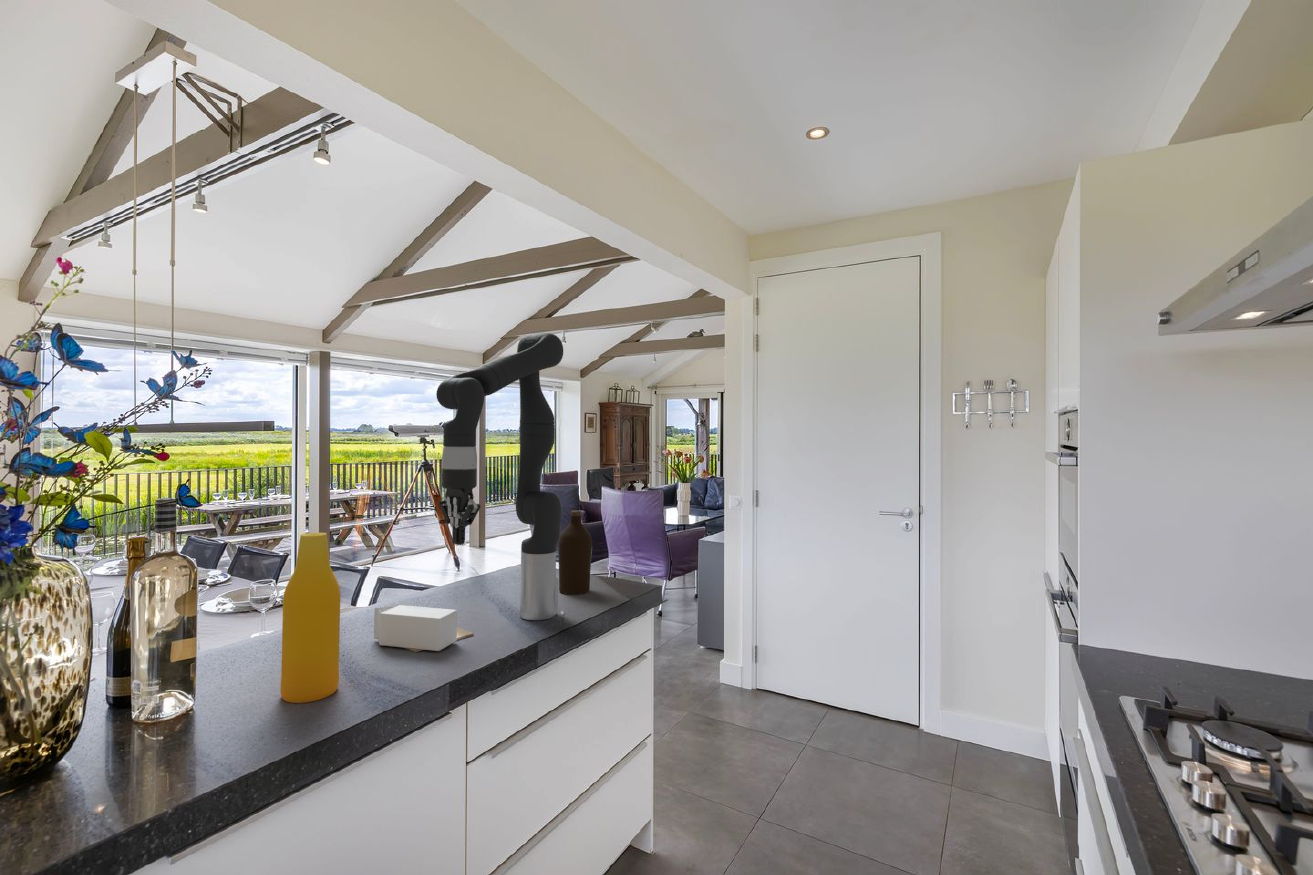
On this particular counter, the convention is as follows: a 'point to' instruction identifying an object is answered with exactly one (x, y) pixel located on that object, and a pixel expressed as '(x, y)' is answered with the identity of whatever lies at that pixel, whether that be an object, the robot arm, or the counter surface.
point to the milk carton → (415, 627)
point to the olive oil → (574, 557)
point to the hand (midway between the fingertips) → (458, 543)
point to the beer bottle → (311, 625)
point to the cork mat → (460, 635)
